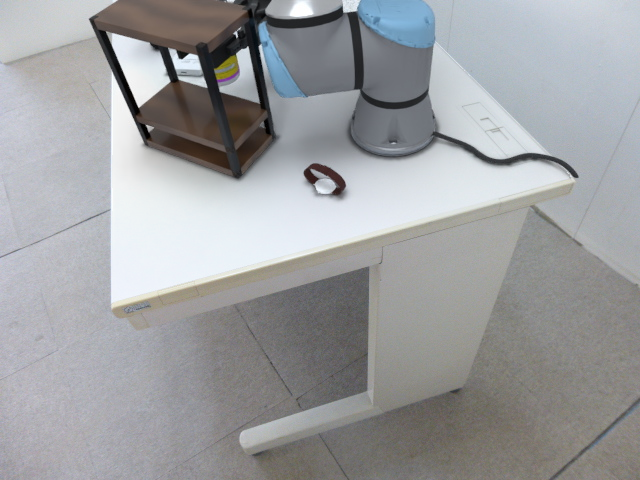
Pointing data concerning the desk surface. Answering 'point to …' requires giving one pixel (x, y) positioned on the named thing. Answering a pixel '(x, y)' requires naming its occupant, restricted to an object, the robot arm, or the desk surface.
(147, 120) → the rack
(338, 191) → the watch
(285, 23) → the robot arm
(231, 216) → the desk surface
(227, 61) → the supplement bottle
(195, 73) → the hard drive
